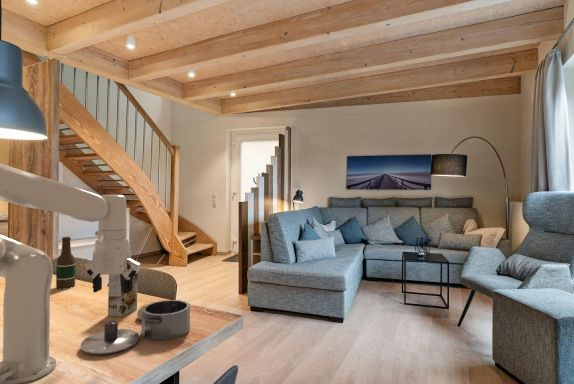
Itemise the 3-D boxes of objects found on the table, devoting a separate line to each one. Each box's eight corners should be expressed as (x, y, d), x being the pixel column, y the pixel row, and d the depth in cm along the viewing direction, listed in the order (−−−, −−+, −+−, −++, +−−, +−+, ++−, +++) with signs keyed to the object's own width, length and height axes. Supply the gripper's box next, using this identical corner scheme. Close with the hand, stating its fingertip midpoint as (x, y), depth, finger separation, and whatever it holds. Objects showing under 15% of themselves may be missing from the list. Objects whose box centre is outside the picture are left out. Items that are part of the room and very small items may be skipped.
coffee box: (122, 317, 127) (123, 273, 127) (107, 315, 128) (107, 272, 128) (137, 309, 135) (138, 268, 135) (123, 307, 137) (124, 267, 137)
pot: (176, 344, 104) (176, 318, 104) (128, 342, 106) (129, 316, 106) (198, 321, 124) (198, 298, 124) (157, 319, 125) (158, 297, 125)
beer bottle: (57, 285, 166) (58, 236, 166) (76, 284, 170) (76, 235, 170) (54, 290, 159) (55, 238, 159) (74, 288, 163) (74, 237, 163)
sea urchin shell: (154, 306, 134) (162, 294, 130) (161, 324, 130) (170, 312, 126) (131, 312, 127) (139, 300, 123) (138, 331, 123) (146, 319, 119)
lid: (120, 359, 95) (121, 334, 95) (67, 356, 97) (68, 331, 97) (147, 336, 111) (148, 315, 111) (101, 333, 112) (102, 312, 112)
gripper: (77, 236, 101) (77, 294, 101) (133, 237, 99) (133, 296, 100) (93, 233, 108) (93, 287, 108) (146, 234, 107) (146, 288, 107)
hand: (112, 291), depth 104 cm, fingers open, 9 cm apart
